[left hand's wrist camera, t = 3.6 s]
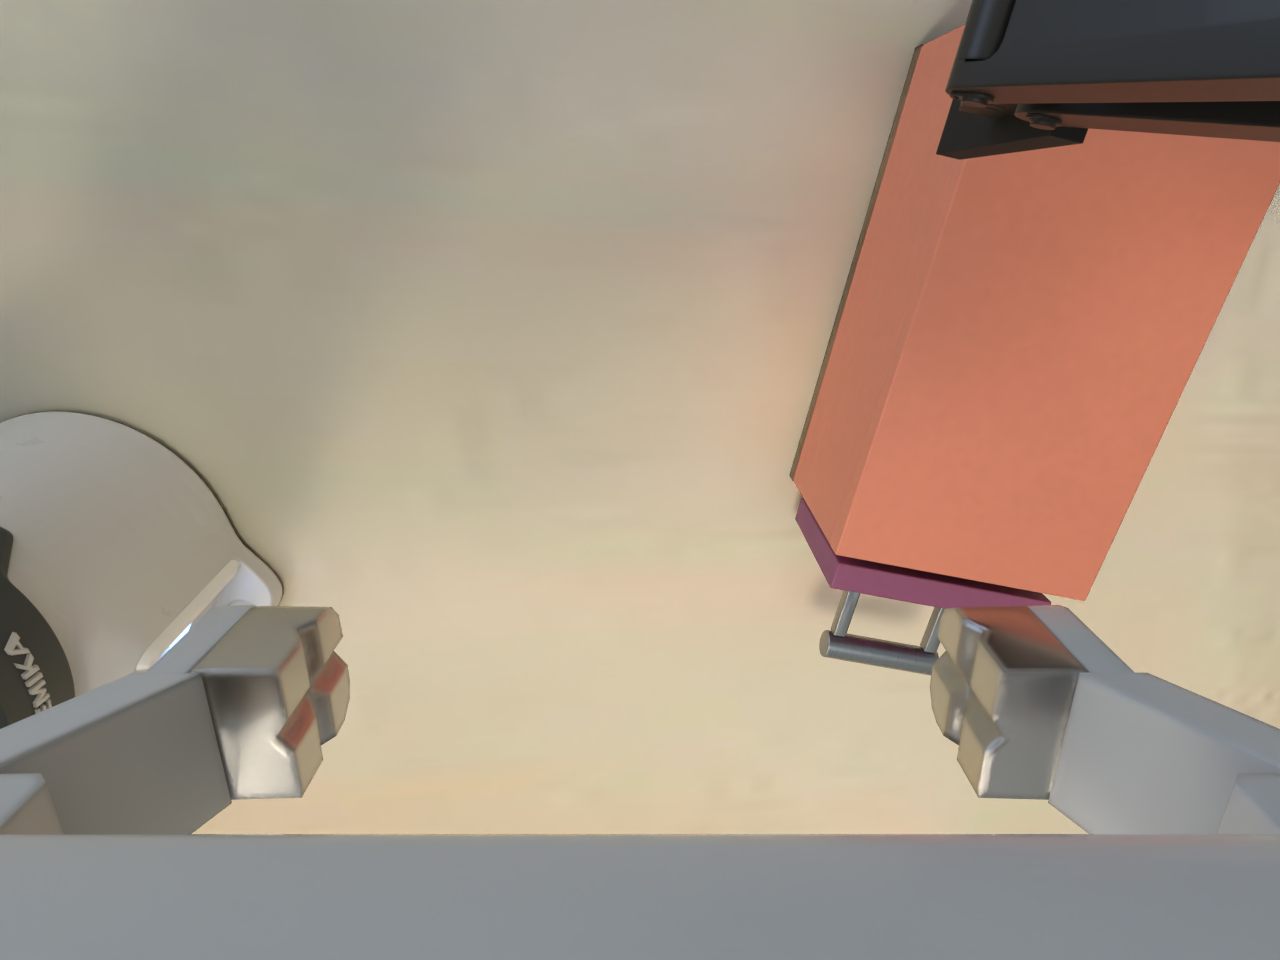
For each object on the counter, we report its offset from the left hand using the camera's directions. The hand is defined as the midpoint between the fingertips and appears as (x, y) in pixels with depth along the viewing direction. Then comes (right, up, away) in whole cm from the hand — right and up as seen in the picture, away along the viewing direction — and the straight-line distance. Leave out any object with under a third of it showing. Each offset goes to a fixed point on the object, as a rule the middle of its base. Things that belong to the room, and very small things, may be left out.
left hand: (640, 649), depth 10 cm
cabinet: (+15, +10, +25) cm, 31 cm away
